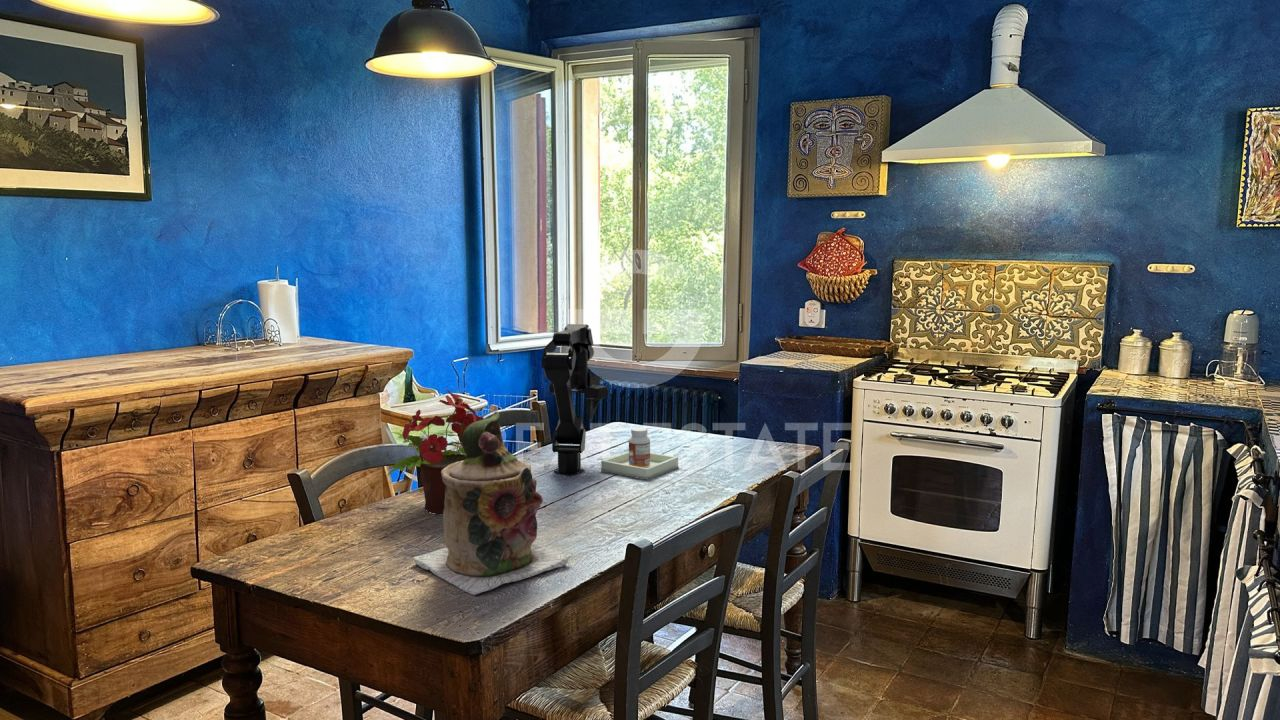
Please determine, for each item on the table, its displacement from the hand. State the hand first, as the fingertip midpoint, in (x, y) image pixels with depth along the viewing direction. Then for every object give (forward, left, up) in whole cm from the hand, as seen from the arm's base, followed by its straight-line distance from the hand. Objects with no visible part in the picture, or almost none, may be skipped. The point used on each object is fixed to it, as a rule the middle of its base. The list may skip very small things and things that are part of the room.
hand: (578, 417), depth 266 cm
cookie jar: (-76, -37, -13) cm, 86 cm away
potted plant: (-52, 0, -13) cm, 54 cm away
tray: (+2, -21, -13) cm, 25 cm away
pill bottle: (+2, -21, -12) cm, 24 cm away
